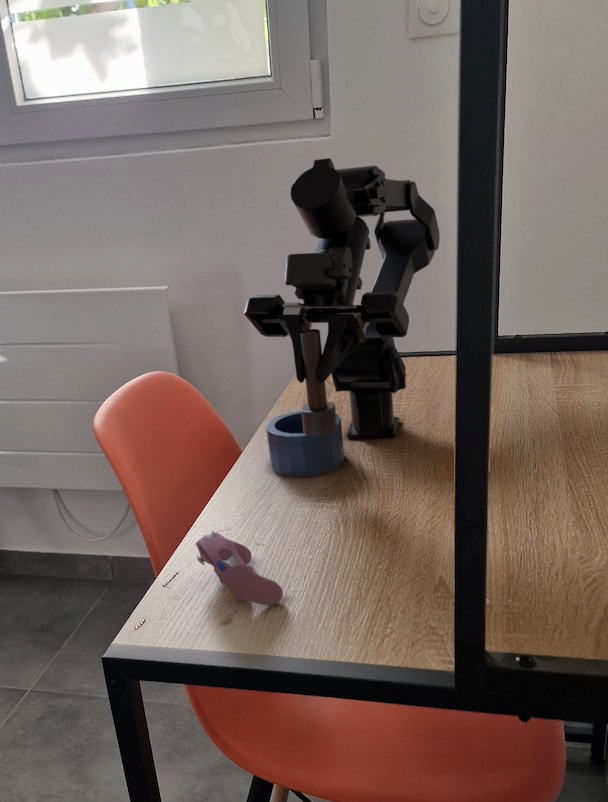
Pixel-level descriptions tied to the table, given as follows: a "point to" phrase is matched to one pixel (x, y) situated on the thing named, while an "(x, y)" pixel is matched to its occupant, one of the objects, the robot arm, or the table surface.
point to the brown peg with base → (315, 390)
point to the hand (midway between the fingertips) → (309, 381)
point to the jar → (302, 447)
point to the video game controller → (237, 570)
